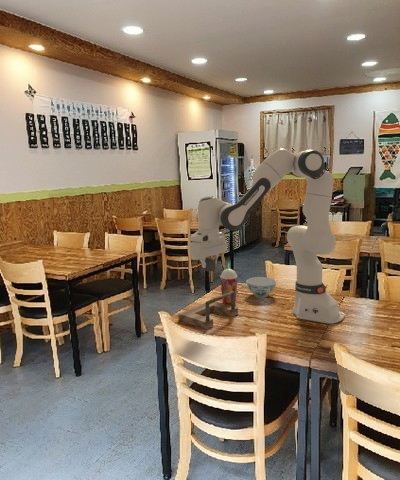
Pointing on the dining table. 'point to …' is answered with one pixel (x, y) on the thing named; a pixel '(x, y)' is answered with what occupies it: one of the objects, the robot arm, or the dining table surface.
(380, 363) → the dining table surface
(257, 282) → the chinaware
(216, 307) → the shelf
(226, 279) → the smoothie
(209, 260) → the dark grey block
